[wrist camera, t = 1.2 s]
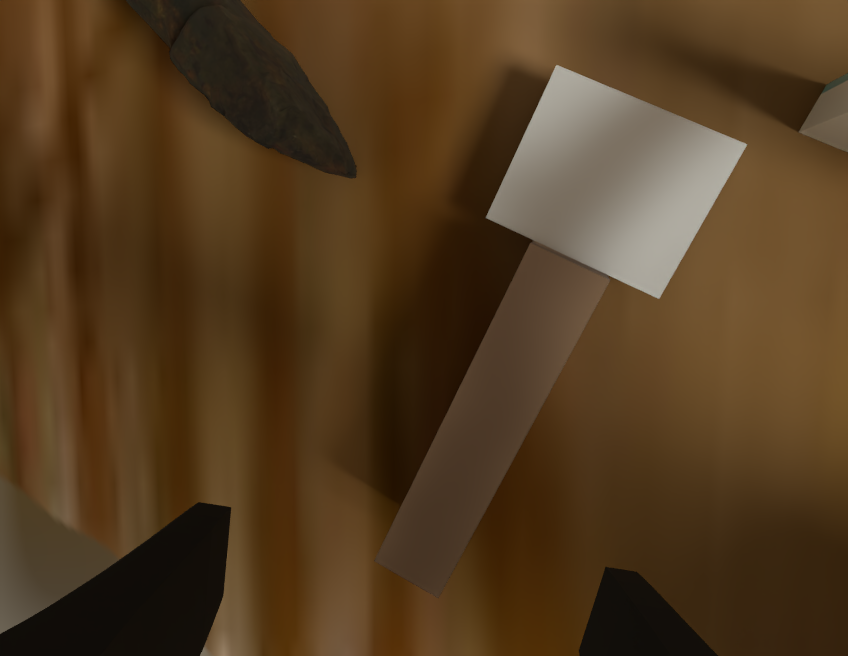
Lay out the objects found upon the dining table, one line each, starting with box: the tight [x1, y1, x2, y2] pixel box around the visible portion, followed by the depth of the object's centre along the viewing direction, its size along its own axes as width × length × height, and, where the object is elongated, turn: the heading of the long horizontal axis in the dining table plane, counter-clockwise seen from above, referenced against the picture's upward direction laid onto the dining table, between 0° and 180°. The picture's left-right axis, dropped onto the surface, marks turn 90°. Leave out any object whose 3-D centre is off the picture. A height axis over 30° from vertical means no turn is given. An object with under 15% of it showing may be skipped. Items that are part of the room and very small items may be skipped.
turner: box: [374, 65, 747, 598], centre depth 20 cm, size 6×17×4 cm, turn 156°
